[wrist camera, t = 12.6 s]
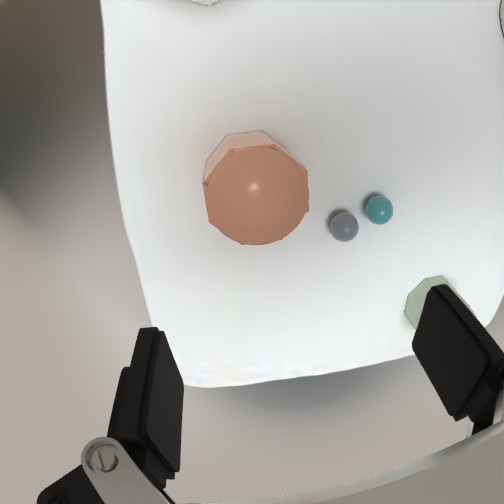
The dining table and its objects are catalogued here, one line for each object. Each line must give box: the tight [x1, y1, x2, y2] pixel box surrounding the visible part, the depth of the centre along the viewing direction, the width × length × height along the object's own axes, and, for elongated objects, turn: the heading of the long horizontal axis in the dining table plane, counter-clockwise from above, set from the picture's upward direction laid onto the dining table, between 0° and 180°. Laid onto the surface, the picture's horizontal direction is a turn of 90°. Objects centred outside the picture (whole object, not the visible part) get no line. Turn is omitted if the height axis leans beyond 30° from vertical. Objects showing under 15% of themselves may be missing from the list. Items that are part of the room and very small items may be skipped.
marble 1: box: [330, 213, 359, 242], centre depth 32 cm, size 3×3×3 cm
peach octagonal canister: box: [203, 130, 309, 245], centre depth 26 cm, size 8×8×8 cm
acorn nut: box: [404, 275, 477, 330], centre depth 37 cm, size 8×8×8 cm
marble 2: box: [366, 196, 393, 225], centre depth 31 cm, size 3×3×3 cm
